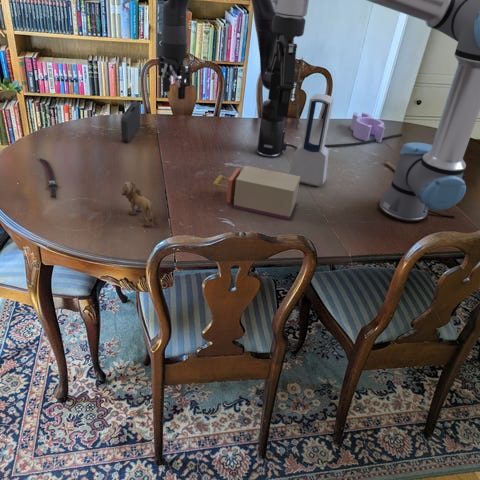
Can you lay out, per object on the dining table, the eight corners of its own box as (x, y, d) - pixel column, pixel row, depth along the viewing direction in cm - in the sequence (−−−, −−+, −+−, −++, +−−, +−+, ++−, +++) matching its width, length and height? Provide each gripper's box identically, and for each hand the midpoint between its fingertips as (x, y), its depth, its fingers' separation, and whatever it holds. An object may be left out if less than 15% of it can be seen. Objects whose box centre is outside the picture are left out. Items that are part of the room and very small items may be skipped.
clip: (343, 126, 223) (346, 112, 219) (367, 127, 225) (371, 113, 221) (360, 142, 206) (364, 127, 202) (386, 142, 209) (390, 127, 205)
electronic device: (325, 180, 169) (342, 97, 152) (321, 188, 163) (339, 103, 146) (292, 173, 172) (306, 91, 155) (287, 181, 165) (301, 96, 149)
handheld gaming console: (134, 123, 200) (133, 100, 195) (140, 124, 200) (140, 100, 195) (121, 142, 181) (119, 117, 175) (128, 143, 181) (127, 118, 175)
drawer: (209, 198, 147) (211, 176, 143) (219, 185, 156) (221, 164, 151) (277, 213, 143) (281, 190, 139) (283, 199, 152) (287, 177, 147)
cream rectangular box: (233, 207, 146) (236, 179, 141) (242, 192, 155) (245, 165, 150) (289, 219, 143) (294, 191, 137) (295, 203, 152) (300, 176, 147)
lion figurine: (118, 210, 138) (116, 182, 133) (132, 204, 141) (131, 177, 137) (151, 229, 130) (150, 201, 126) (165, 223, 134) (165, 195, 129)
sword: (61, 197, 141) (61, 193, 140) (50, 198, 139) (50, 194, 139) (49, 160, 164) (48, 156, 163) (39, 160, 163) (39, 157, 162)
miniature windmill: (297, 129, 213) (308, 60, 197) (278, 126, 214) (288, 57, 198) (299, 122, 221) (309, 56, 205) (281, 120, 222) (290, 53, 206)
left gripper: (198, 44, 136) (196, 100, 145) (171, 35, 145) (171, 88, 154) (177, 46, 132) (176, 103, 141) (150, 36, 141) (151, 90, 150)
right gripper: (266, 7, 117) (256, 92, 128) (282, 23, 96) (269, 123, 107) (295, 9, 118) (283, 94, 129) (317, 26, 97) (301, 125, 108)
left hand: (173, 95), depth 147 cm, fingers open, 8 cm apart
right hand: (277, 107), depth 118 cm, fingers open, 13 cm apart
